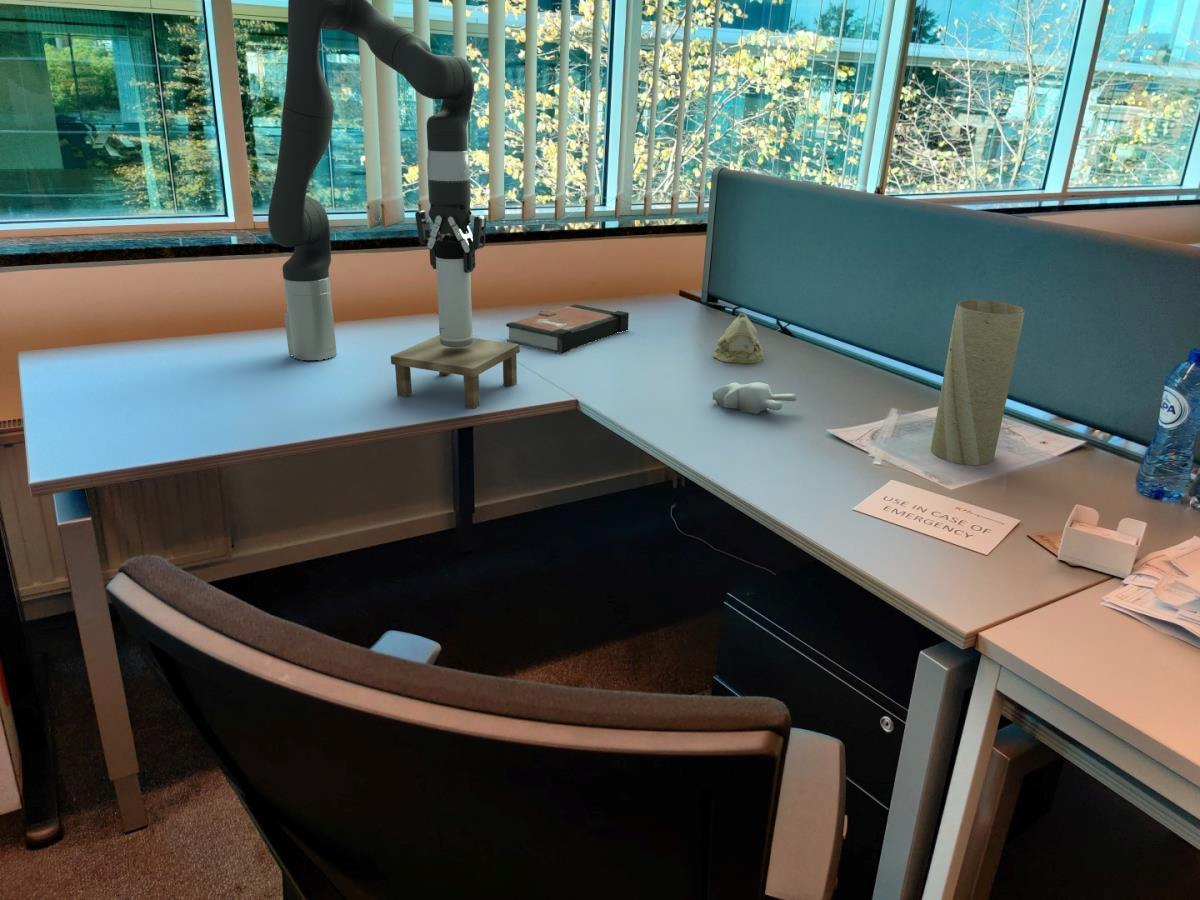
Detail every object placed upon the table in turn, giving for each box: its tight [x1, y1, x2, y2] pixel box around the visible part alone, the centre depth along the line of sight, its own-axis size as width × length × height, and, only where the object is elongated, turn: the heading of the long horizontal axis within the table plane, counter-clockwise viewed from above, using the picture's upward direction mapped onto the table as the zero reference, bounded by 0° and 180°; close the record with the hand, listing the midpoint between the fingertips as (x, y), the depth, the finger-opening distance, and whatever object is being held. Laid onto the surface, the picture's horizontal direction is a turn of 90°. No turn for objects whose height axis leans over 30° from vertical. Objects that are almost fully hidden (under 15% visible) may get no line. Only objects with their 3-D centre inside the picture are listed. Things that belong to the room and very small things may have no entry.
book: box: [505, 303, 630, 354], centre depth 210 cm, size 26×18×5 cm
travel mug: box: [435, 239, 474, 347], centre depth 164 cm, size 6×7×20 cm
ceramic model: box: [713, 311, 764, 364], centre depth 196 cm, size 14×11×10 cm
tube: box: [930, 299, 1026, 466], centre depth 141 cm, size 10×10×25 cm
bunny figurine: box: [712, 381, 797, 415], centre depth 163 cm, size 10×5×15 cm
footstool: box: [390, 334, 521, 410], centre depth 170 cm, size 18×18×8 cm
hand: (452, 269), depth 163 cm, fingers closed on travel mug, 6 cm apart
